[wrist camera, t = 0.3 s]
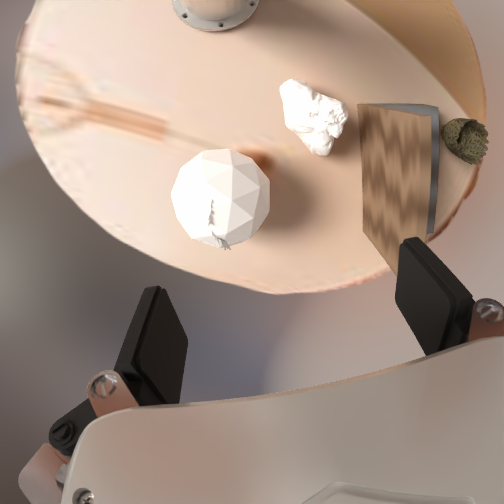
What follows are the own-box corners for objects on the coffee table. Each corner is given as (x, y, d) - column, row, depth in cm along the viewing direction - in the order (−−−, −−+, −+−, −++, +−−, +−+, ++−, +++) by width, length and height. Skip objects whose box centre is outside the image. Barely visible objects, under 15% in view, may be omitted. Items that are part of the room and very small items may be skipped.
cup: (426, 142, 43) (453, 153, 36) (438, 105, 39) (466, 111, 32) (454, 158, 44) (480, 171, 37) (465, 123, 40) (493, 132, 33)
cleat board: (357, 104, 40) (419, 116, 24) (423, 104, 39) (496, 121, 24) (362, 230, 51) (407, 292, 35) (421, 221, 50) (475, 274, 35)
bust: (319, 145, 46) (378, 138, 36) (291, 168, 43) (353, 163, 34) (286, 79, 40) (344, 57, 31) (252, 95, 37) (311, 71, 28)
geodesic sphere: (291, 242, 45) (284, 226, 32) (206, 270, 47) (168, 266, 34) (262, 158, 47) (245, 115, 34) (184, 188, 49) (144, 158, 36)
